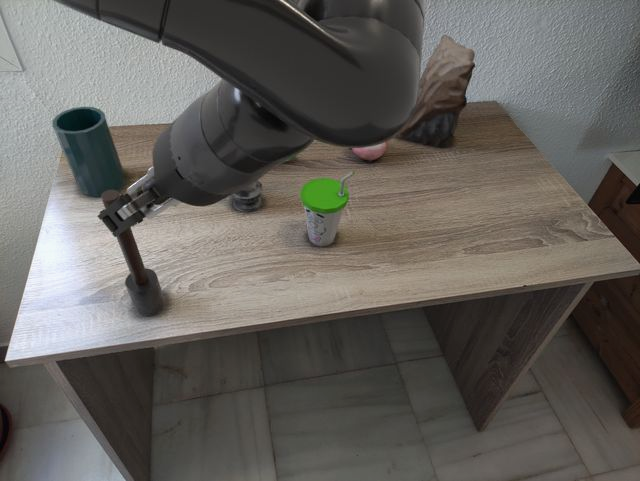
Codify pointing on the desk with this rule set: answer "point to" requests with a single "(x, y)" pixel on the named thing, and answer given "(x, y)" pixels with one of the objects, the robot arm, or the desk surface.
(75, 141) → the pencil holder
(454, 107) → the brown rock
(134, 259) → the brush
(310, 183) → the cup
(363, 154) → the pink round piece
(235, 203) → the chess piece
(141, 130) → the desk surface
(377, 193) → the desk surface
